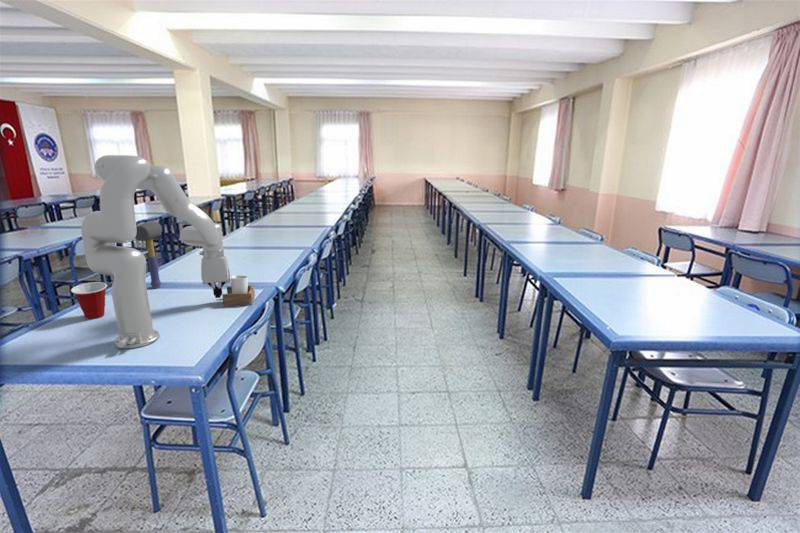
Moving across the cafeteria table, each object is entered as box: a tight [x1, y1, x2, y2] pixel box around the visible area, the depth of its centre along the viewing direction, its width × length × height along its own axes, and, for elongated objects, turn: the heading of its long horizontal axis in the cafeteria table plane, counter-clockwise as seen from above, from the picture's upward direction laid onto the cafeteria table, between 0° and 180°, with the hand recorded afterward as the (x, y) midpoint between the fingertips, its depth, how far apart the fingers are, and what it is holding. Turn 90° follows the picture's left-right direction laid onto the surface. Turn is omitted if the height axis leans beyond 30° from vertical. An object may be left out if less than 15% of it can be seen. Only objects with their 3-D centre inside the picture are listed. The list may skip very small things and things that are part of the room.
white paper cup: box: [230, 274, 249, 294], centre depth 173 cm, size 7×7×10 cm
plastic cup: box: [70, 281, 108, 320], centre depth 153 cm, size 11×11×12 cm
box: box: [221, 284, 256, 307], centre depth 173 cm, size 11×11×5 cm
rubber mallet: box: [135, 220, 163, 289], centre depth 184 cm, size 12×8×30 cm, turn 3°
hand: (218, 296), depth 171 cm, fingers closed
